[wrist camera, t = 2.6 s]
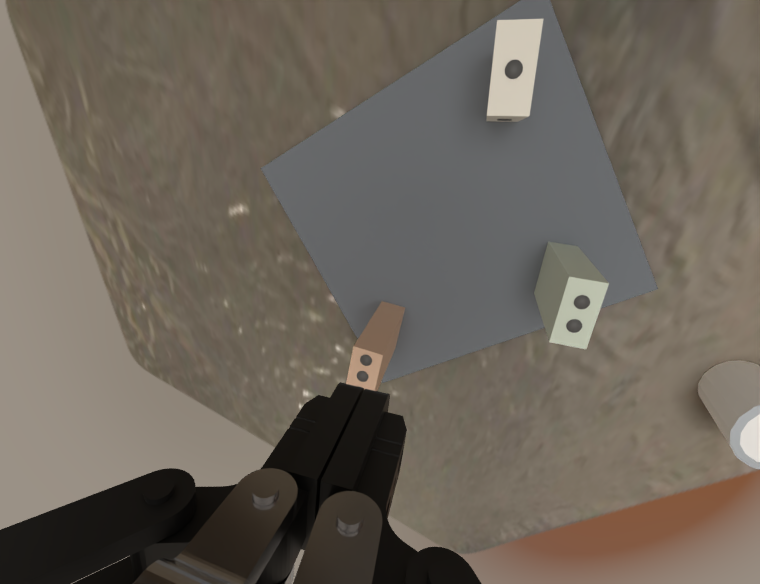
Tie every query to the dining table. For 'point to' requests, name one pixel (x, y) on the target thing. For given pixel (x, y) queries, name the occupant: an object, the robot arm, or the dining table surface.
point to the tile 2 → (569, 295)
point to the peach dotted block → (375, 347)
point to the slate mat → (459, 200)
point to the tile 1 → (513, 69)
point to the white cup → (735, 406)
